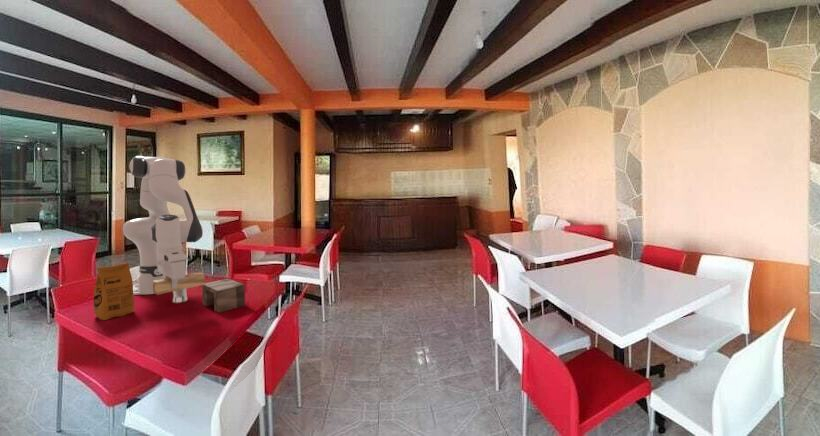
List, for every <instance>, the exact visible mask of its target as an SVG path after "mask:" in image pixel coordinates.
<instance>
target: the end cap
mask: <svg viewBox="0 0 820 436" xmlns="http://www.w3.org/2000/svg"><path fill="white" fill-rule="evenodd" d="M201 286H202V287H201V288H202V289H201V291H202V292H201V293H202V305H203V306H205V307H210V306H213V307H214V309H213V310H214V312H217V313H219V314H220V313H223V312H226V311H230V310H233V308H234V309H237V308H241V307H245V306H246V292H245V291H246V290H245V289H246V287H245V286H246V285H245V284H244V283H241V282H238V281H236V280H232V279H230V278H223V279H219V280H216V281H211V282H205V285H201ZM244 305H245V306H244Z"/></svg>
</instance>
